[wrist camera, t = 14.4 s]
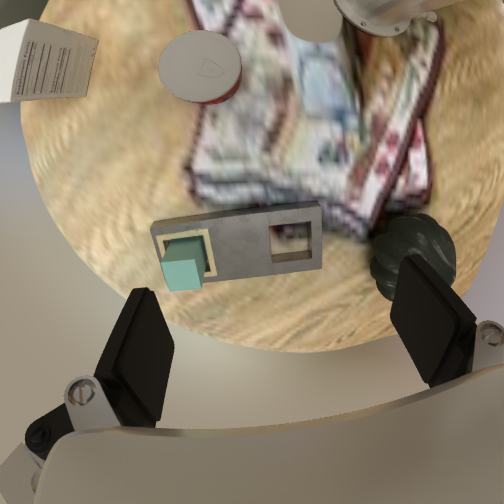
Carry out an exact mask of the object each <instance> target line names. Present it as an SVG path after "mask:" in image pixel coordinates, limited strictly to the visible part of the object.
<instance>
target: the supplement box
mask: <svg viewBox="0 0 504 504" xmlns="http://www.w3.org/2000/svg"><path fill="white" fill-rule="evenodd" d="M97 44H98V40H96V39H93V38H90V37H87V36H85V35H82V34H79V33H76V32H73V31H69V30H66V29H63V28H60V27H57V26H54V25H51V24H48V23H44V22H40V21H37V20H33V19H27V20H24V21H21V22H18V23H16V24H13V25H10V26H7V27H5V28H2V29H0V104H4V103H12V102H21V101H29V100H39V99H48V98H62V97H85V96H86V92H87V87H88V82H89V77H90V72H91V68H92V63H93V59H94V55H95V52H96V48H97Z"/></svg>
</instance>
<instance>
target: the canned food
mask: <svg viewBox="0 0 504 504" xmlns="http://www.w3.org/2000/svg"><path fill="white" fill-rule="evenodd" d="M158 69H159V76H160V79H161V82H162V83H163V85H164V86H165V88H166V89H167V90H168V91H169V92H170V93H171V94H173V95H174V96H176V97H178V98H180V99H182V100H185V101H189V102H193V103H201V104H217V103H221V102H223V101H225V100H227V99H229V98H230V97H232V96H233V95H234V94H235V93H236V91H237V90H238V88H239V86H240V83H241V75H242V64H241V57H240V55H239V52H238V50H237V48H236V47H235V45H234V44H233V43H232V42H231V41H230V40H229V39H228V38H226V37H225V36H223V35H221V34H219V33H216V32H213V31H208V30H197V31H190V32H187V33H184V34H182V35H180V36H178V37H176V38H175V39H174V40H173V41H171V42H170V43H169V44H168V45H167V46H166V48H165V49H164V51H163V53H162V54H161V57H160V60H159V67H158Z"/></svg>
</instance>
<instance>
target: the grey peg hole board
mask: <svg viewBox="0 0 504 504" xmlns="http://www.w3.org/2000/svg"><path fill="white" fill-rule="evenodd" d="M307 221H308V243H309V251H301V252H293V253H284V254H276V255H271V248H270V238H269V228H268V226H272V225H280V224H289V223H298V222H307ZM150 231H151V234H152V238H153V241H154V245H155V248H156V252H157V255H158V258H159V262H160V265H161V261H162V259H163V256H164V254H165V252H166V250H167V248H168V246H169V244H170V242H169V240H170V239H177V238H184V237H192V236H199V235H203V237H204V242H205V246H206V251H207V256H208V260H209V263H206V268H205V273H204V278H203V283H206V282H216V281H225V280H234V279H242V278H251V277H260V276H268V275H276V274H284V273H292V272H300V271H308V270H315V269H322V212H321V205H320V204H319V203H318V201H308V202H298V203H289V204H280V205H271V206H262V207H254V208H246V209H238V210H230V211H223V212H215V213H208V214H201V215H194V216H187V217H181V218H174V219H168V220H161V221H155V222H154V223H153V225H152V226H151V227H150ZM161 268H162V266H161ZM162 271H163V269H162ZM163 274H164V273H163ZM164 277H165V276H164ZM165 281H166V279H165ZM166 284H167V283H166Z"/></svg>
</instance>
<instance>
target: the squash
mask: <svg viewBox="0 0 504 504" xmlns="http://www.w3.org/2000/svg"><path fill="white" fill-rule="evenodd" d="M373 250H374V254H375V256H374V257H373V258H372V260H371V262H370V270H371V275H372V277H373V278H374V279H375V280H376V285H377V288H378V290H379V291H380V292H381V294H382V295H383V296H384V297H385V298H386V299H388V300H390V301H392V302H393V298H394V293H395V288H396V283H397V278H398V272H399V267H400V262H401V260H403V259H404V257H405V256H406V255H412V254H420V255H421V256H422V257H423V258H424V259H425V260H426V261H427V262H428V263H429V264H430V265H431V266H432V267H433V268H434V270H435V271H436V272H437V273H438V274H439V275H440V276H441V277H442V278H443V279H444V280H445V281H446V283H447V284H448V285H449V286H450V287H451V285H452V284H453V282H454V281H455V278H456V253H455V246H454V243H453V241H452V239H451V237H450V235H449V233H448V232H447V231H446V230H445V229H444V228H443V227H441V226H440V225H439V224H438V223H437V222H436V220H434V219H433V218H432V217H430V216H429V215H426V214H421V213H420V214H415V215H413V216H402V217H398V218H394V219H393V220H391V221H390V222H389V224H388V227H387V233H382V234H379V235H377V236H376V237H375V238H374V240H373Z"/></svg>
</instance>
